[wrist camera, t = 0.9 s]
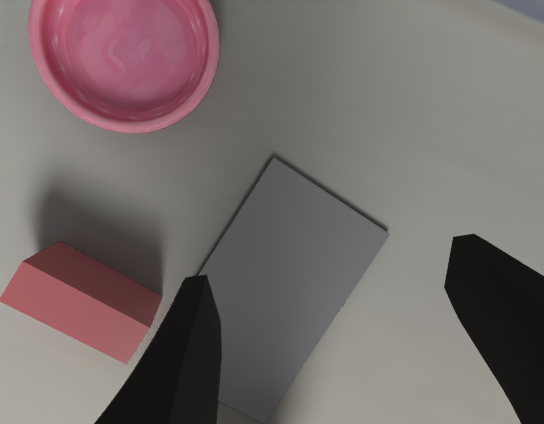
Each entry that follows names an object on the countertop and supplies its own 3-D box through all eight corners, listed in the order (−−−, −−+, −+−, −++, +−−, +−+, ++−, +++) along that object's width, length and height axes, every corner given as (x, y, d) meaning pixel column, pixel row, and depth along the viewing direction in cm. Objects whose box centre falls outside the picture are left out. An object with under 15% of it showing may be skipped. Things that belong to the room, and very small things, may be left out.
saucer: (29, -33, 27) (5, -56, 24) (205, -46, 29) (204, -70, 26) (67, 144, 29) (49, 143, 26) (230, 124, 31) (231, 120, 28)
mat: (263, 419, 35) (264, 423, 34) (143, 359, 32) (142, 362, 32) (387, 233, 34) (390, 234, 33) (272, 157, 31) (273, 157, 31)
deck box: (143, 325, 32) (126, 364, 26) (41, 272, 30) (-2, 300, 25) (162, 295, 32) (150, 327, 26) (60, 240, 30) (22, 261, 24)
